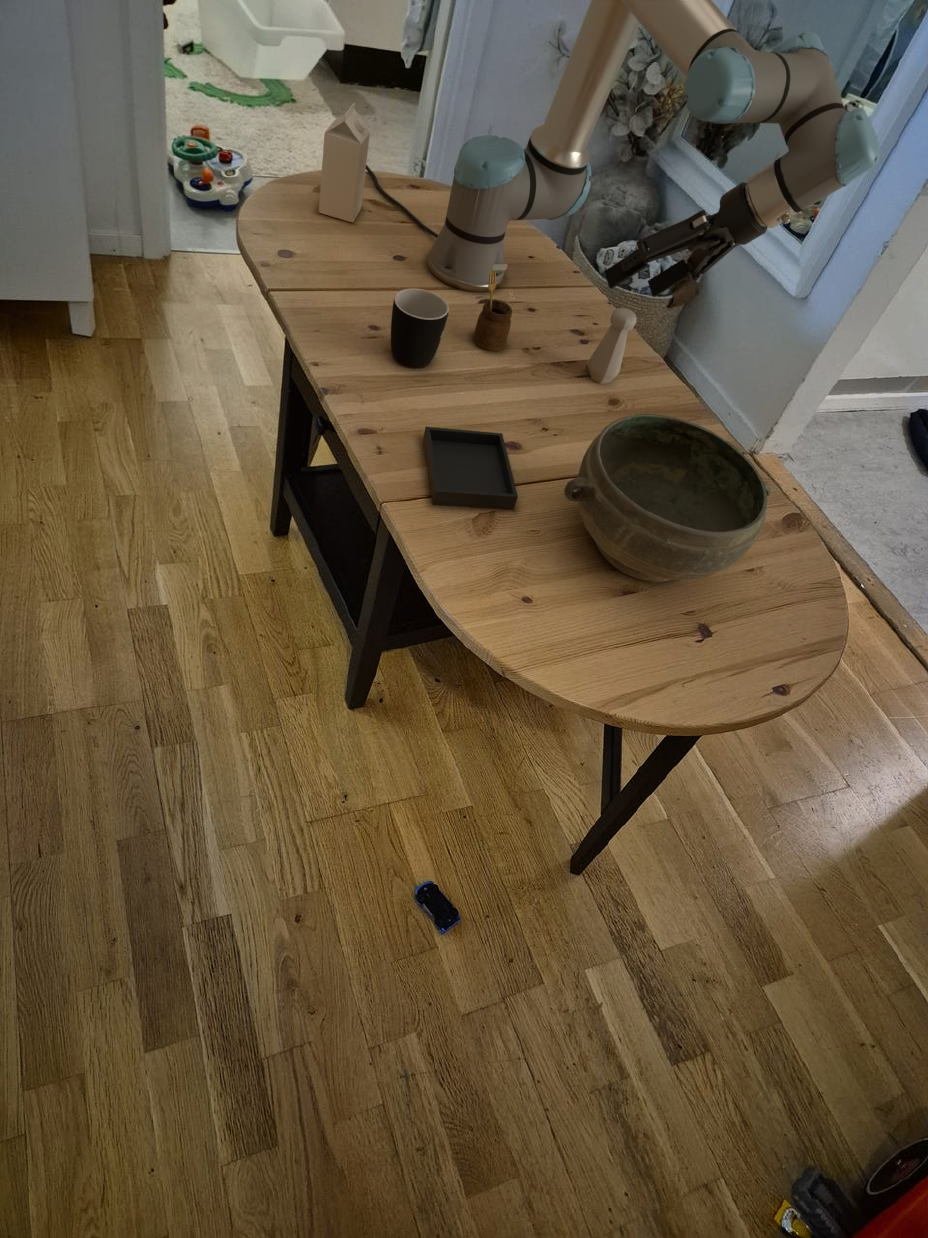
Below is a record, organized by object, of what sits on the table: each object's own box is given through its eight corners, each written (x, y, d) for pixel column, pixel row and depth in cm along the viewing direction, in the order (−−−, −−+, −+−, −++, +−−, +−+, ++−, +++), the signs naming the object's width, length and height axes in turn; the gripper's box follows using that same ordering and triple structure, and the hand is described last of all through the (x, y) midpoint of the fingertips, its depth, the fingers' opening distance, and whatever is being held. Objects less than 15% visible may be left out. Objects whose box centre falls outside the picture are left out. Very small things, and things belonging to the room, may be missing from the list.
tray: (422, 439, 123) (425, 426, 121) (498, 446, 126) (502, 433, 124) (432, 504, 114) (435, 491, 112) (513, 509, 117) (518, 496, 115)
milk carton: (318, 213, 160) (326, 108, 145) (327, 199, 164) (336, 96, 150) (352, 223, 160) (363, 120, 146) (361, 209, 165) (372, 107, 150)
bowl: (700, 485, 131) (744, 411, 119) (770, 609, 116) (828, 538, 104) (517, 484, 121) (546, 403, 110) (568, 619, 106) (608, 542, 95)
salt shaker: (578, 373, 144) (603, 307, 134) (596, 363, 147) (622, 299, 137) (603, 390, 142) (630, 325, 132) (621, 380, 145) (648, 316, 135)
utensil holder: (488, 355, 141) (505, 292, 132) (465, 336, 143) (480, 273, 134) (511, 347, 144) (529, 285, 135) (488, 328, 147) (504, 266, 137)
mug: (442, 374, 135) (455, 320, 127) (391, 372, 132) (400, 317, 124) (426, 333, 141) (437, 279, 134) (377, 330, 138) (385, 275, 131)
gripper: (729, 216, 102) (595, 300, 116) (796, 243, 120) (674, 313, 135) (710, 160, 102) (579, 251, 117) (781, 196, 120) (660, 271, 135)
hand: (630, 284), depth 126 cm, fingers open, 13 cm apart
